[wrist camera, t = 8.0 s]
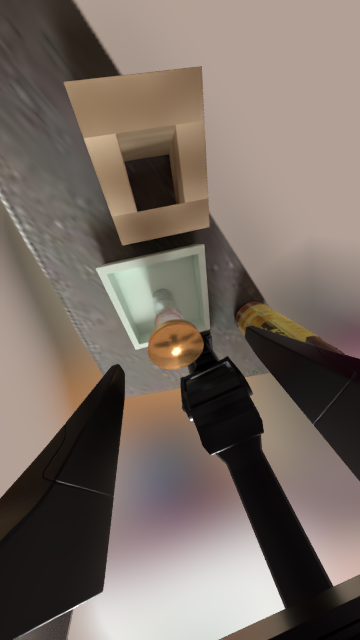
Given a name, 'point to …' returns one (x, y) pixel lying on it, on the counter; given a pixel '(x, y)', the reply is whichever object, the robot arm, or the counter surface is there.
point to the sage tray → (151, 275)
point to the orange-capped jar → (172, 335)
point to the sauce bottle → (276, 324)
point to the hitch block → (146, 145)
